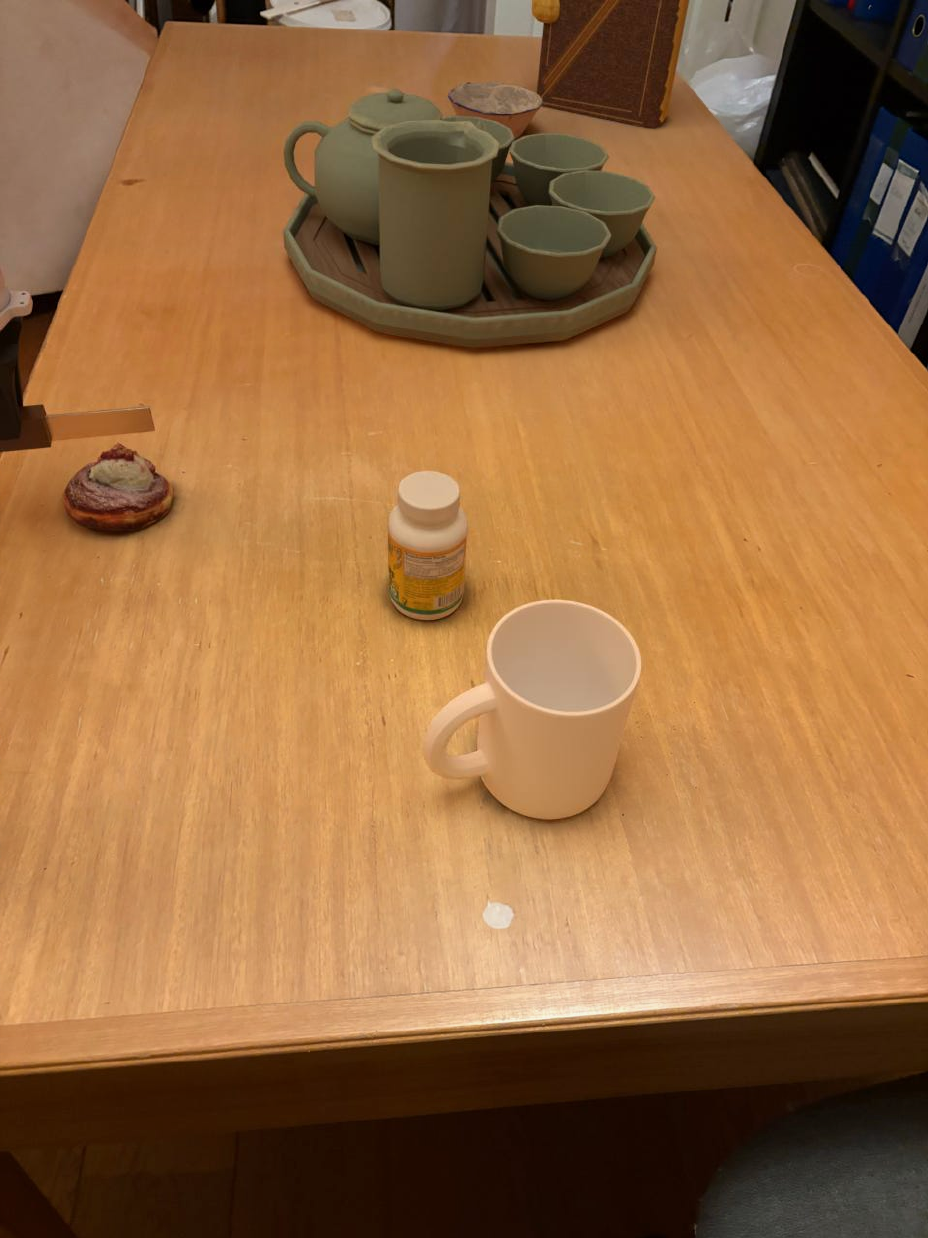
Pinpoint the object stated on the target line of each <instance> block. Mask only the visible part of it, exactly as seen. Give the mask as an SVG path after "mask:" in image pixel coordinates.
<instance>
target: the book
mask: <svg viewBox="0 0 928 1238" xmlns="http://www.w3.org/2000/svg"><path fill="white" fill-rule="evenodd" d="M689 5H690V0H532V1H531V13H532V16H533V17H534V18H535V20H537V22H539V23H543V25H542V35H541V45H540V56H539V65H538V76H537V86H536V93H537V94H538V95H539V96H540V97H541V98H542V100H543V102H542V106H541V107H546V108H551V109H555V110H560V111H564V112H570V113H575V114H579V115H583V116H584V115H585V116H589V117H593V118H594V117H595V118H598V119H603V120H607V121H612V122H618V123H622V124H627V125H632V126H635V127H641V128H647V129H649V128H650V129H657V128H660V127H662V126H663V125H664V124H665V123H666V122H667V118H668V113H669V107H670V103H671V96H672V92H673V88H674V87H673V86H674V83H675V76H676V71H677V67H678V62H679V56H680V51H681V45H682V41H683V35H684V31H685V26H686V19H687V15H688V10H689Z"/></svg>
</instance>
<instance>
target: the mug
mask: <svg viewBox="0 0 928 1238" xmlns="http://www.w3.org/2000/svg"><path fill="white" fill-rule="evenodd" d="M641 656H642V655H641V652H640V650H639V647H638V644H637V642H636V641H635V639H634V637H633V635H632V634H631V633H630V632H629V630H628V629H627V628H626V627H625V626H624V625H623V624H622V623H621V622H620V621H619V620H617V619H616V618H615V617H613V616H612V615H611V614H608V612H605V611H603V610H601V609H599V608H598V607H595V606H592V605H589V604H587V603H583V602H579V601H574V600H568V599H543V600H542V599H541V600H537V601H532V602H529V603H525V604H522V605H520V606H518V607H516V608H514V609H511V610H510V611H508V612H507V613H506V614H505V615H504V616H502V617H501V618H500V619H499V621H497V623H496V624H495V625H494V627H493V628H492V630H491V631H490V633H489V636H488V638H487V643H486V650H485V659H484V660H485V661H484V669H483V681H482V683H481V684H479V685H476V686H473V687H472V688H469V689H467V690H466V691H464V692H462V693H460V694H459V695H457V696H455V697H454V698H452V699H451V700H450V701H449V702H448V703H446V705H444V706H443V707H442V708H441V709H440V710H439V711H438V712H437V713H436V714H435V716H434V717H433V719H432V720H431V721H430V723H429V725H428V727H427V729H426V730H425V734H424V738H423V743H422V755H423V759H424V763H425V764H426V766H427V767H428V768H429V770H430V771H431V772H432V773H434V774H435V775H436V776H439V777H441V778H443V779H447V780H458V781H460V780H467V779H472V778H477V777H480V778H481V781H482V783H483V784H484V786H485V787H486V788H487V790H488V791H489V793H490V794H491V795H492V796H493V797H494V798H495V799H496V800H497V801H498V802H499V803H501V804H502V805H503V806H505V807H506V808H508V809H509V810H511V811H513V812H515V813H517V814H520V815H522V816H526V817H528V818H533V819H539V820H558V819H559V820H561V819H566V818H570V817H572V816H575V815H578V814H580V813H582V812H584V811H585V810H587V809H588V808H590V807H591V806H593V805H594V804H595V803H596V802H597V801H598V800H599V799H600V798H601V797H602V795H603V794H604V792H605V791H606V789H607V787H608V785H609V783H610V780H611V778H612V775H613V771H614V768H615V765H616V762H617V758H618V756H619V755H618V754H619V751H620V748H621V744H622V741H623V737H624V734H625V732H626V731H625V730H626V727H627V724H628V719H629V716H630V714H631V713H630V712H631V710H632V707H633V703H634V699H635V696H636V693H637V689H638V685H639V682H640V680H641V679H640V678H641V675H642V668H643V667H642V657H641ZM477 717H479V720H478V730H477V739H476V751H473V752H469V753H466V754H461V755H451V754H448V751H447V749H448V745H449V743H450V741H451V739H452V737H453V736H454V734H455V733H456V732H457V731H458V730H460V728H461V727H462V726H464V725H465V724H466V723H468V722H469V721H471V720H473V719H475V718H477Z"/></svg>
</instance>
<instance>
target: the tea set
mask: <svg viewBox="0 0 928 1238" xmlns="http://www.w3.org/2000/svg"><path fill="white" fill-rule="evenodd" d="M308 133H311V134H314V133H315V134H318V135H319V136H320V137H321V138H320V140H319V142H318V143H317V146H316V148H315V150H314V185H312V184H310V182H308V181H306V180H305V179H304V177H303V176H302V174H301V173H300V172H299V170H298V168H297V165H296V163H295V148H296V145H297V142H298V141H299V139H301V137H303V136H304V135H306V134H308ZM508 155H510V157H511V160H512V162H510V161H507V158H508ZM609 158H610V156H609V154H608V151H606V149H605V148H604V146H602V145H601V144H598V143H597V142H594V141H593V140H591V139H589V138H585V137H580V136H576V135H572V134H567V133H554V132H553V133H549V132H542V133H535V134H528V135H523V136H520V137H519V138H517V139H515V138H514V135H513V133H512V131H511V129H510V128H508V127H506V126H504V125H502V124H500V123H498V122H496V121H492V120H488V119H483V118H479V117H468V116H457V115H449V116H443V112H442V111H441V109H440V108H439V107H438V106H436V104H434V103H433V101H432V100H430V99H427V98H425V97H422V96H419V95H417V94H413V93H412V94H411V93H404V92H403V91H402V90H400V89H398V88H391V89H389V90H388V91H387V92H377V93H373V94H372V93H371V94H367V95H364V96H362V97H361V98H359V99H358V100H356V101H355V102H353V103H352V104H350V106H349V107H348V117H347V118H345V119H343V120H341V121H340V122H338V123H337V124H335V125H333V126H332V127H331V126H328V125H327V124H324V123H322V122H320V121H318V120H307V121H306V120H305V121H303V122H301V123H300V124H298V125H296V126H294V128H292V130H291V132H290V133H289V135H288V136H287V138H286V139H285V143H284V147H283V161H284V167H285V169H286V172H287V174H288V177H289V179H290V180H291V181H292V183H294V185H295V186H296V187H297V188H298V190H300V191H301V192H303V193H304V194H303V196H302V198H301V199H300V201H299V202H298V204H297V206H296V208H295V209H294V211H293V213H292V215H291V217H290V218H289V220H288V222H287V223H286V225H285V226H284V228H283V230H282V238H283V247H284V250H285V251H286V254H287V255H288V257H289V259H290V261H291V262H292V264H293V266H294V268H295V269H296V271H297V273H298V274H299V275H298V276H299V277H300V278H301V280H302V282H303V284H304V286H305V287H306V289H307V291H308V292H309V294H310V296H311V298H312V300H314V301H316V302H319V303H321V304H323V305H324V306H326V307H329V308H330V309H332V310H335V311H336V312H338V313H340V314H342V315H343V316H346V317H348V318H349V319H352V320H354V321H356V322H358V323H360V324H362V325H364V326H365V327H367V328H369V329H371V330H373V331H375V332H376V333H379V334H386V335H390V336H397V337H398V336H399V337H403V338H409V339H416V340H421V341H428V342H433V343H440V344H445V345H451V346H457V347H463V348H468V349H479V348H490V347H491V348H492V347H502V346H513V345H524V344H525V345H526V344H535V343H546V342H547V343H548V342H558V341H560V342H561V341H567V340H568V339H570V338H573V337H575V336H578V335H579V334H581V333H584V332H586V331H589V330H591V329H593V328H595V327H597V326H599V325H601V324H604V323H606V322H608V321H610V320H613V319H614V318H618V317H619V316H621V315H624V314H627V313H628V312H629V310H630V309H631V308H632V306H633V305H634V304H635V302H636V300H637V298H638V296H639V294H640V292H641V290H642V288H643V286H644V284H645V282H646V280H647V278H648V276H649V275H650V273H651V270H652V269H653V267H654V264H655V262H656V261H655V260H656V256H657V250H658V246H657V245H656V243H655V242H654V240H653V238H652V237H651V235H650V233H649V232H648V230H647V228H646V227H645V225H644V223H643V221H644V219H645V217H646V214H647V212H648V211H649V209H650V208H651V206H652V204H653V203H654V201H655V199H656V195H655V194H654V192H653V191H652V189H651V188H650V186H649V185H647V184H645V183H644V182H641V181H639V180H638V179H636V178H634V177H632V176H629V175H625V174H621V173H616V172H612V171H607V170H603V167H604V166H605V165H606V163H607V162H608V159H609Z"/></svg>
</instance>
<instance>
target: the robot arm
mask: <svg viewBox="0 0 928 1238" xmlns="http://www.w3.org/2000/svg"><path fill="white" fill-rule="evenodd" d="M3 273H4V272H3V271H2V267H1V266H0V441H2V440H13V439H19V438H20V433H21V422H20V414H19V408H18V407H19V406H24V394H23V386H22V378H21V377H22V376H21V370H20V369H21V368H20V337H21V332H22V328H23V325H24V323H23V322H24V317H25V316H28V315H30V314H31V313H32V310H33V299H32V296H31V293H30V292H29V291H27V290H11V289H10V287H9V285H8V284H7V283H6V280H5V277H4V274H3Z"/></svg>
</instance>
